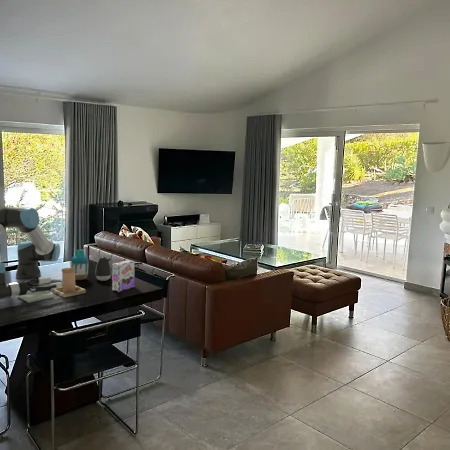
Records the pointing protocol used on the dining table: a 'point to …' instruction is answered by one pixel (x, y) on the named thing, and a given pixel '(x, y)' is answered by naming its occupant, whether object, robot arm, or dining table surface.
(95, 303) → the dining table surface
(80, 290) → the oak corral
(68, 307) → the dining table surface
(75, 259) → the vase
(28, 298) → the green tray
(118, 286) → the candy box
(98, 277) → the pump dispenser
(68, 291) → the canister
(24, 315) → the dining table surface
